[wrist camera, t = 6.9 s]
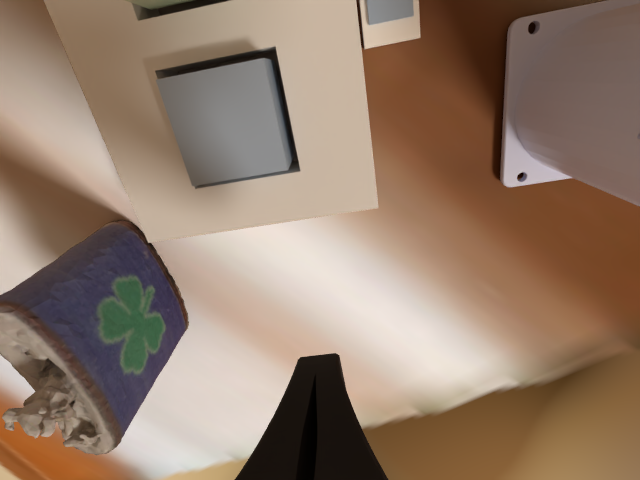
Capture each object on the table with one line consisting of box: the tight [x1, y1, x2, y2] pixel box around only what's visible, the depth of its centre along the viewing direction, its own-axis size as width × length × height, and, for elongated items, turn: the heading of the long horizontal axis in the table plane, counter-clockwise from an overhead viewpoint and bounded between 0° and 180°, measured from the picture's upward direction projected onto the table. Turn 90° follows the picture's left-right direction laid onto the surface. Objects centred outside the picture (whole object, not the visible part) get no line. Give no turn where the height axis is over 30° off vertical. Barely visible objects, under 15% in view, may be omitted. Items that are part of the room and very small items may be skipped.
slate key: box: [156, 58, 294, 186], centre depth 16 cm, size 4×4×3 cm
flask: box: [0, 220, 189, 455], centre depth 18 cm, size 9×3×11 cm, turn 14°
